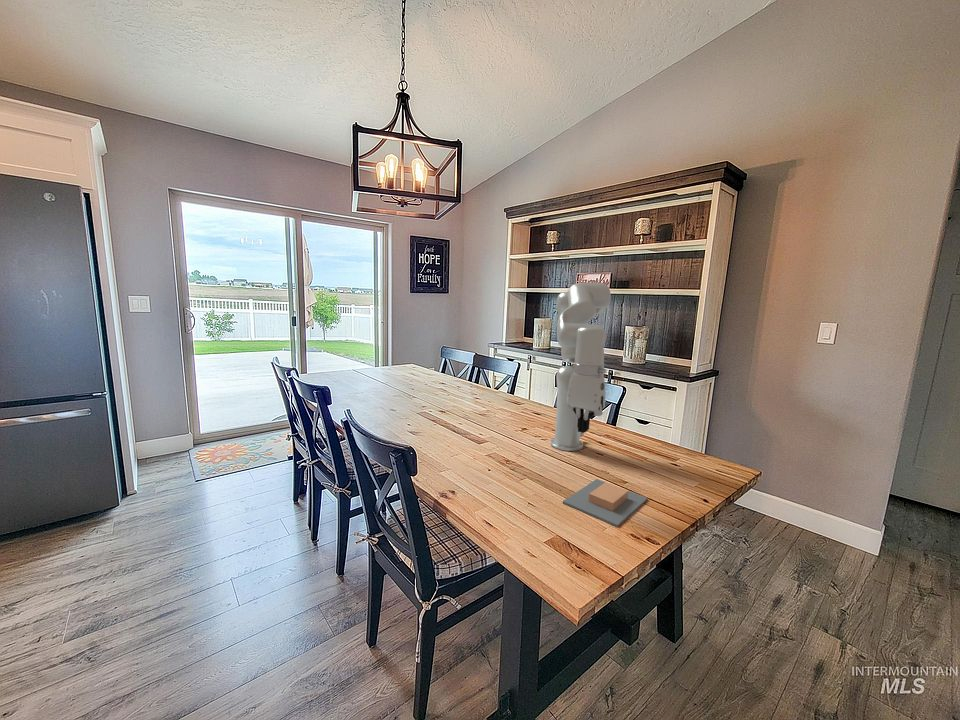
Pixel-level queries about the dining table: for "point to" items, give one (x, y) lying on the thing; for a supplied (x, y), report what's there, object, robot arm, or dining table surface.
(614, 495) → the terracotta tile
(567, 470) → the dining table surface
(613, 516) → the rubber mat
